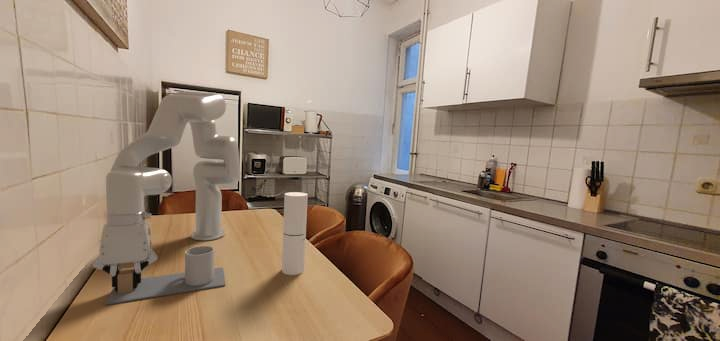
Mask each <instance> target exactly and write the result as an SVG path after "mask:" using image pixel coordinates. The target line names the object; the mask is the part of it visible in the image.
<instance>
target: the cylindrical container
mask: <svg viewBox="0 0 720 341" xmlns="http://www.w3.org/2000/svg"><path fill="white" fill-rule="evenodd" d="M307 211H308V193H305V192H297V191H293V192H290V191H289V192H285V193H284V202H283V225H282V226H283V229H282V230H283V231H282V254H281V256H282V257H281V272H282V274H285V275H288V276H296V275H300V274H302V273H303V271H304V272H305V265H306V263H305V262H306V261H305V260H306V239H307V238H306V237H307V220H308V219H307V217H308V215H307V214H308V212H307Z"/></svg>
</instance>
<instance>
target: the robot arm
mask: <svg viewBox="0 0 720 341" xmlns="http://www.w3.org/2000/svg"><path fill="white" fill-rule="evenodd" d="M226 109H227V103H226V100H225V99H224V97H223V95H221V94H219V93H213V92H201V91H200V92H199V91H188V90H187V91H186V90H184V91H183V90H181V91H177V92H175V93H173V94H168V95H166V96H164V97H162V98H161V101H160V102H159V105H158V107H157V109H156V111H155V114H154V116H153V118H152V121H151V123H150V126H149V127H148V130H147V131H146V133H145V132H144V134H142V135H140V136H139V137H137V138H136V139H134V140H133V141H132V142H130V143H129V144H126V146H125V147H124V148H123V149H122V150H121V151H120V152H119V153H118V155H117V156H116V158H115V161H114V162H113V164H112V167H111V169H110V171H108V173H107V174H106V177H105V192H106V193H105V196H106V198H105V199H106V223H105V224H104V225H103V227H102V232H101V237H100V243H99V244H100V245H99V255H98V257H97V259H96V260H95V261H94V263H93V264H92V268H94V269H98V270H102V271H104V272H105V273H106V274H108V275H109V276H110V277H111V287H112V288H115V291H118V274H119V272H120V270H119V269H120V265H123V264H132V263H133V264H134V265H133V266H134V267H135V271H134V274H133V288H134V289H135V288H137V286H138V284H139V283H141V278H142V271H144V269H145V268H146V267H147V266H148V265H151V264H153V263H154V262H156V261H158V255H157V254H156V252H155V251H154V250H153V248H152V246H153V245H152V244H153V243H152V234H151V226H150V223H149V221H148V219H151V218H152V213H151V212H147V211H146V210H145V197H146V196H157V195H161V194H164V193H166V192H167V191H168V190H169V189H170V188H171V186H172V182H173V179H172V175H171V174H170V172H168V171H167V170H165V169H164V168H158V167H146V166H139V164H140V163H141V162H142V161H143V160H145V159H146V158H148V157H151V156H152V155H155V154H158V153H161V152H164V151H166V150H169V149H172V148H174V147H177V146H178V145H179V144H180V142H181V140H182V137H183V134H184V132H185V129H186V126H187V124H189V125H190V129H191V134H192V136H191V137H192V142H193V148H194V153H195V155H196V156H197V157H199V158H200V159H205V160H200V161H198V162H196V163H195V165H194V167H193V170H192V172H193V174H192V175H193V179H194V184H195V231H194V232H192V233H191V235H190V238H191V239H192V240H195V241H213V240H218V239H221V238H223V237H225V236H226V232H225V230H224V229H222V211H223V210H222V207H223V206H222V204H223V203H222V201H223V200H222V199H223V198H222V197H223V194H222V191H221V189H220V187H219V186H218V185H228V186H229V185H231V186H232V185H236V184H238V182H239V181H240V179H241V166H240V153H239V146H238V142H237V140H236V139H235V138H234V137H232V136H229V135H218V133H217V126H216V122H215V120H217V119H220V118H221V117H223V115H225V112H226ZM206 159H207V160H206ZM208 159H209V160H208ZM219 160H220V161H219Z"/></svg>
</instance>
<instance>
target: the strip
mask: <svg viewBox="0 0 720 341" xmlns="http://www.w3.org/2000/svg"><path fill="white" fill-rule="evenodd" d="M119 271H120V272H119V274H118V291H115V287H113V290H112V291H111V293H110V295H109V296H108V298H107V299H106V302H105V303H104V305H105V306H108V305H114V304H121V303H128V302H134V301H139V300H145V299H150V298H157V297H165V296H171V295H177V294H182V293H183V294H184V293H188V292H195V291H201V290H207V289H213V288H221V287H226V280H225V279H226V278H225V273H224V272H225V271H224V267H214V278H213V280H212V281H211V282H210V283H208V284H206V285H202V286H188V285H187V284H186V283H185V271H183V272H178V273H177V272H176V273H169V274H163V275H156V276H155V275H154V276H147V277H141V283H139V284H138V286H137V288H135V289H134V288H133V274H134V271H135V267H133V266H132V267H126V268H125V267H124V268H121V269H120V270H119Z"/></svg>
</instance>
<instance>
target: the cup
mask: <svg viewBox="0 0 720 341" xmlns="http://www.w3.org/2000/svg"><path fill="white" fill-rule="evenodd" d="M214 268H215V248H214V247H213V246H210V245H198V246H193V247H190V248H188V249H186V250H185V252H184V272H185V283H186V284H187V285H188V286H202V285H206V284H208V283H210V282H211V281H212V280H213V278H214Z"/></svg>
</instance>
